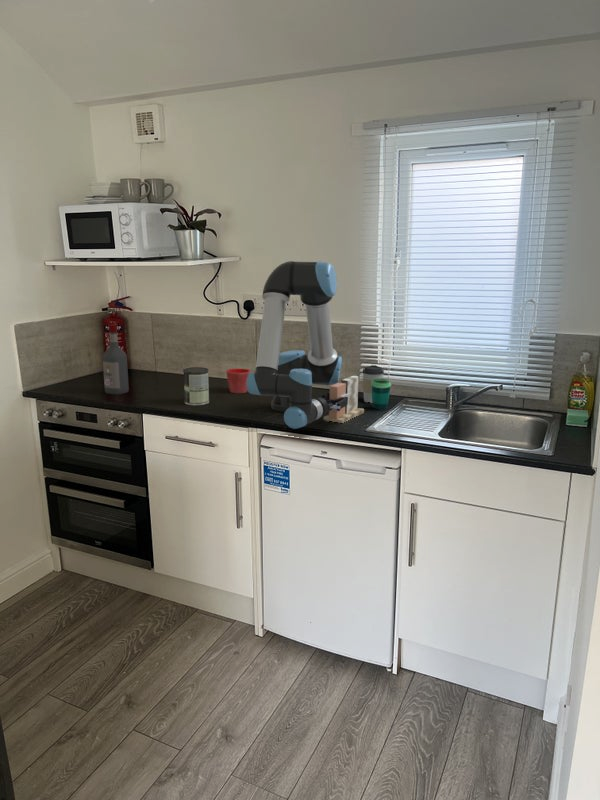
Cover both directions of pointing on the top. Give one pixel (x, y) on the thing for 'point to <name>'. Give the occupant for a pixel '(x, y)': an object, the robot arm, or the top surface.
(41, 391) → the top surface
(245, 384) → the flower pot
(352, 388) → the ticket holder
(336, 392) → the salmon orange block
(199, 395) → the coffee can
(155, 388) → the top surface
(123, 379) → the liquor
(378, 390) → the cup
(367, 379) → the coffee cup
